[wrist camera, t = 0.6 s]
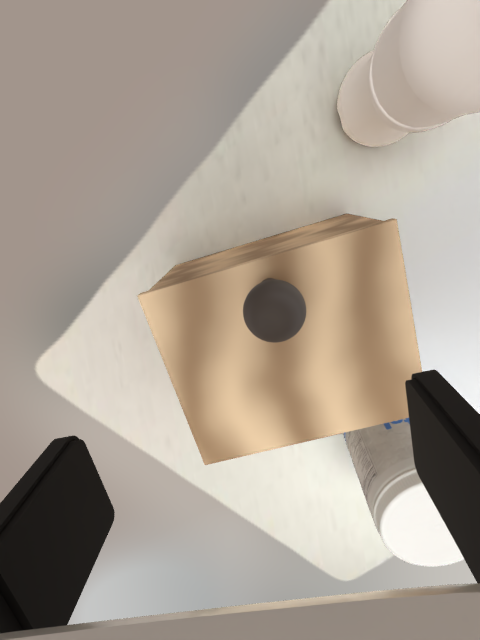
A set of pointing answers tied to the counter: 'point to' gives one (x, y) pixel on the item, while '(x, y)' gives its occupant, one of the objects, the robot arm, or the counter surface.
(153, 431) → the counter surface
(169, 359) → the lid
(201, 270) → the wooden box
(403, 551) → the supplement tub
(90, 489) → the robot arm
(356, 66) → the water bottle
